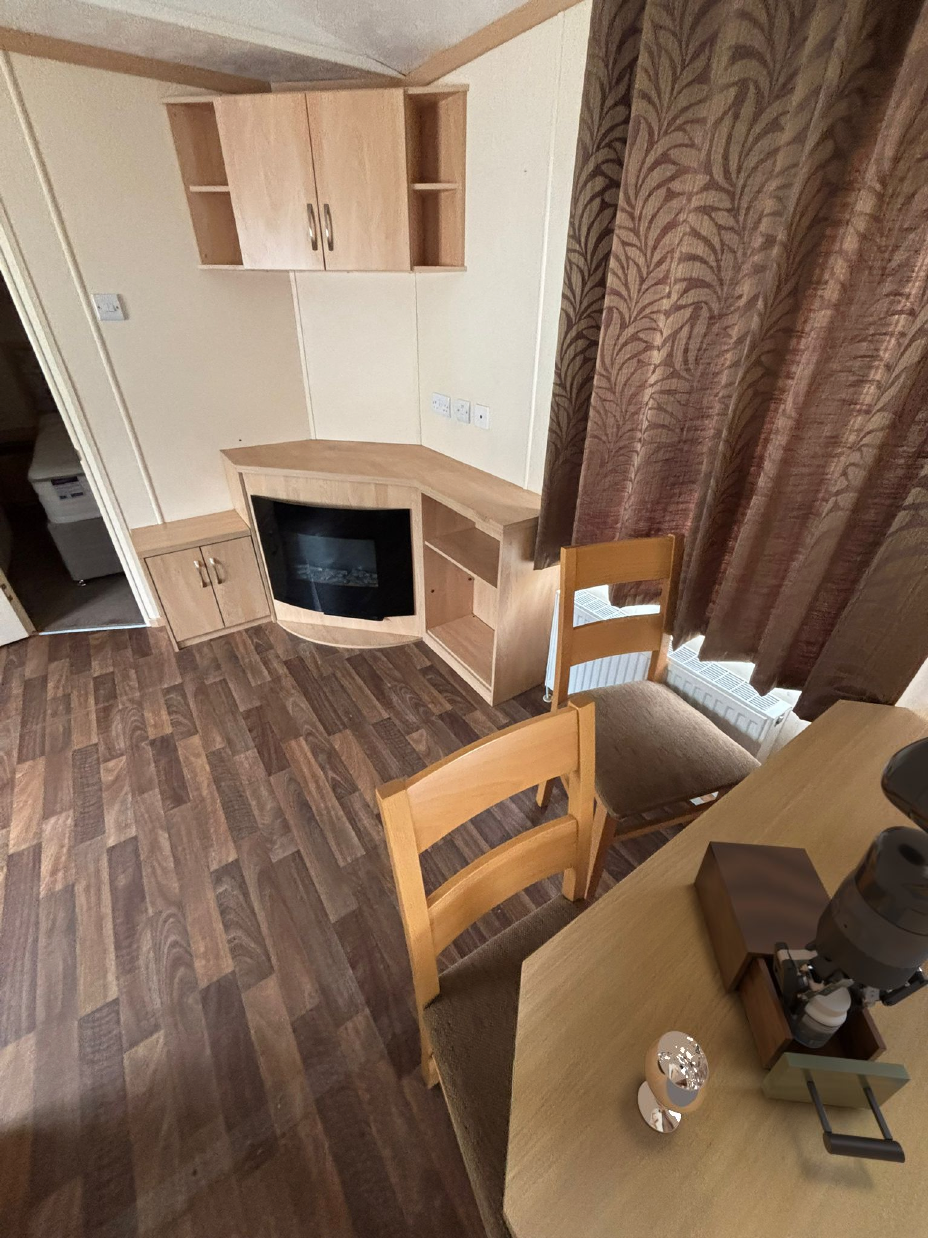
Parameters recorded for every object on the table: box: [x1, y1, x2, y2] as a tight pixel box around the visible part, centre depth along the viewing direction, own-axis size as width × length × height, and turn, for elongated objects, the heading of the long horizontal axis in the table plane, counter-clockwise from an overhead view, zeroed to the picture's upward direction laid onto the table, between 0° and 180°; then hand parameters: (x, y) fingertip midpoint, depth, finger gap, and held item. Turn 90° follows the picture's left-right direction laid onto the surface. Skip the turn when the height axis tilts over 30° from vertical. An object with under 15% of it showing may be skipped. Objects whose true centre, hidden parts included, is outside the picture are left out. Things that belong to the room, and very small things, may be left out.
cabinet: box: [693, 840, 832, 996], centre depth 69 cm, size 15×13×10 cm
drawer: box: [738, 956, 911, 1164], centre depth 57 cm, size 19×11×8 cm, turn 175°
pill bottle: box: [782, 977, 851, 1048], centre depth 58 cm, size 5×5×8 cm
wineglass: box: [637, 1030, 710, 1134], centre depth 54 cm, size 6×6×12 cm
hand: (816, 1007), depth 58 cm, fingers closed on pill bottle, 4 cm apart
